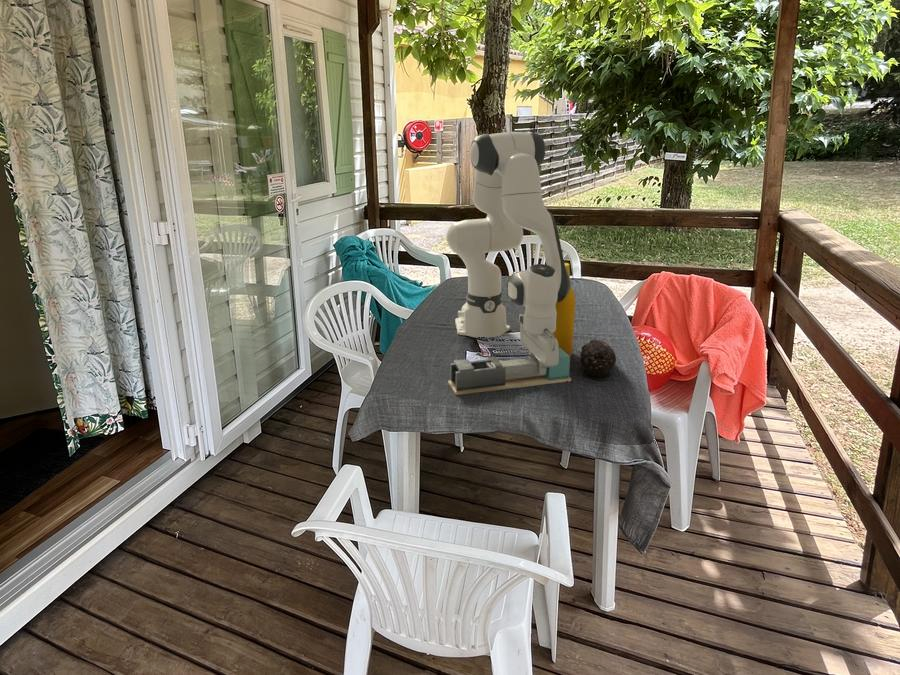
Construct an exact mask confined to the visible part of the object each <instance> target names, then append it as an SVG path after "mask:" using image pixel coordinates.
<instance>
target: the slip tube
mask: <svg viewBox="0 0 900 675" xmlns="http://www.w3.org/2000/svg"><path fill="white" fill-rule="evenodd" d="M499 362H500V363H501V364H502V366H505V367H506V378H505V380H506V379H515V378H523V377H532V376H541V375H548V367H546V373H545V374H540V373H539V372H538V367H539V366H540V363H539V360H538V359H537V358H536V357H534V358H530V357H525V358H517V359H516V358H515V359H509V360H506V359H505V360H499ZM492 367H494V366H493V365H492V364H491V363H490V362H488V363H486V368H492Z"/></svg>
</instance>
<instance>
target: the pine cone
mask: <svg viewBox="0 0 900 675" xmlns="http://www.w3.org/2000/svg"><path fill="white" fill-rule="evenodd" d="M614 351H615V350H614V349H613V348H612V347H611V345H610V344H609V343H608V342H605V341H604V340H599V339H591V340H590V341H589V342H588V343H586V344H584V345H583V346H582V347H581V351H580V356H579V359H580V360H579V363H580V365H581V366H582V374H583V376H584V377H585V378H589V379H592V380H600V381H607V380H609V379H610V377H611V374H612V373H611V371H612V370H613V369H614V367H615V365H616V363H617V362H616V361H617V356H616V353H615V352H614Z"/></svg>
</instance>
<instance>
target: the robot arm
mask: <svg viewBox="0 0 900 675" xmlns="http://www.w3.org/2000/svg"><path fill="white" fill-rule="evenodd" d="M469 149H470V150H469V158H470V163H471V166H472V167H473V168H474V169H475V173H474V182H473V183H474V184H473V192H472V203H473V205H474V206H475V208H476V209H478V210H479V211H480V212H483V213H485V214H486V217H485V218H477V219H476V218H475V219H464V220H460V221H459V220H458V221H455V222H454V223H452V224H450V225H449V227H448V229H447V232H446V242H447V246H448V247H449V248H450V250H451V251H452V252H453V253H455V254H456V256H457V255H458V257H459V258H460V259H461V261H463V263H464V265H465V267H466V271H467V285H468V286H467V290H468V291H467V293H466V300H465V301H466V302H465V303H464V304H463V305H462V307H461V310H458V311H457V317H456V318H455V320H454V322H455V327H456V332H457V335H459V336H468V337H471V338H476V339H477V338H478V337H480V338H478V339H482V338H481V337H485V338H484V339H492V338H491V337H494V338H497V336H498V337H500V336H503V335H504V334H505V333H507V332H508V331H510V330H511V326H510V325H508V324H507V310H506V309H507V308H506V306H505V305H503V292H502V271H501V269H500V267H499V266H498V265H496V264H495V263H493V262H491V261H489V260H486V254H487V253H495V252H506V251H509V250H512V249H517V248H519V246H521V244H522V241H523V239H524V230H527V231H530V232H532V233H535V235H536V236H537V237H539V239H540V241H541V244H542V250H543V254H544V259H545V263H546V264H543V263H535V264H532V265H530V266H529V267H528V268H527V269H525V270H521V271H516V272H513V273H512V274H511V275H510V276H509V277H508V279H507V282H506V295H507V298H508V299H509V300H510V301H511V302H513V304H515V305H516V306H517V305H518V306H524V307H525V310H524V313H523V314H519V316H518V322H519V323H520V324H519V328H520V329H519V335H520V342H521V344H522V345H523V346H524V348H526V349H527V350H528V354H529V358H534V357H536V358H537V359H538V360H539V363H540V366H539V367H538V372H539V373H540V374H545V373H546V367H554V366H557V365H558V363H559V347H558V341H557V339H556V338H555V337H554V335H553V334H552V333H553V332H555V331H556V316H557V312H556V302H561V301H563V300H564V299H565V297H566V296H567V295H568V293H569V291H570V288H571V287H572V284H571V278H570V279H569V276H568V273H567V270H566V267H565V263H566V262H565V260H564V255H563V248H562V246H561V241H560V240H561V239H560V235H559V231H558V230H559V229H558V225H557V223H556V219H555V217H554V214H553V213H552V212H550V211H549V210H548V209H547V207H546V205H545V204H544V201H543V194H542V183H541V177H540V175H541V174H540V171H539V170H540V169H539V167H540V166H541V165H542V163H543V162H544V160H545V157H546V144H545V141H544V138H543V136H541V134H539V133H536V132H533V131H526V132H525V131H524V132H523V131H506V132H498V133H497V132H496V133H490V134H488V133H484V134H479V135H477V136H475V137H474V139H473V140H472V141H471V144H470V148H469ZM523 229H524V230H523ZM486 337H488V338H486ZM489 337H490V338H489Z"/></svg>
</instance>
